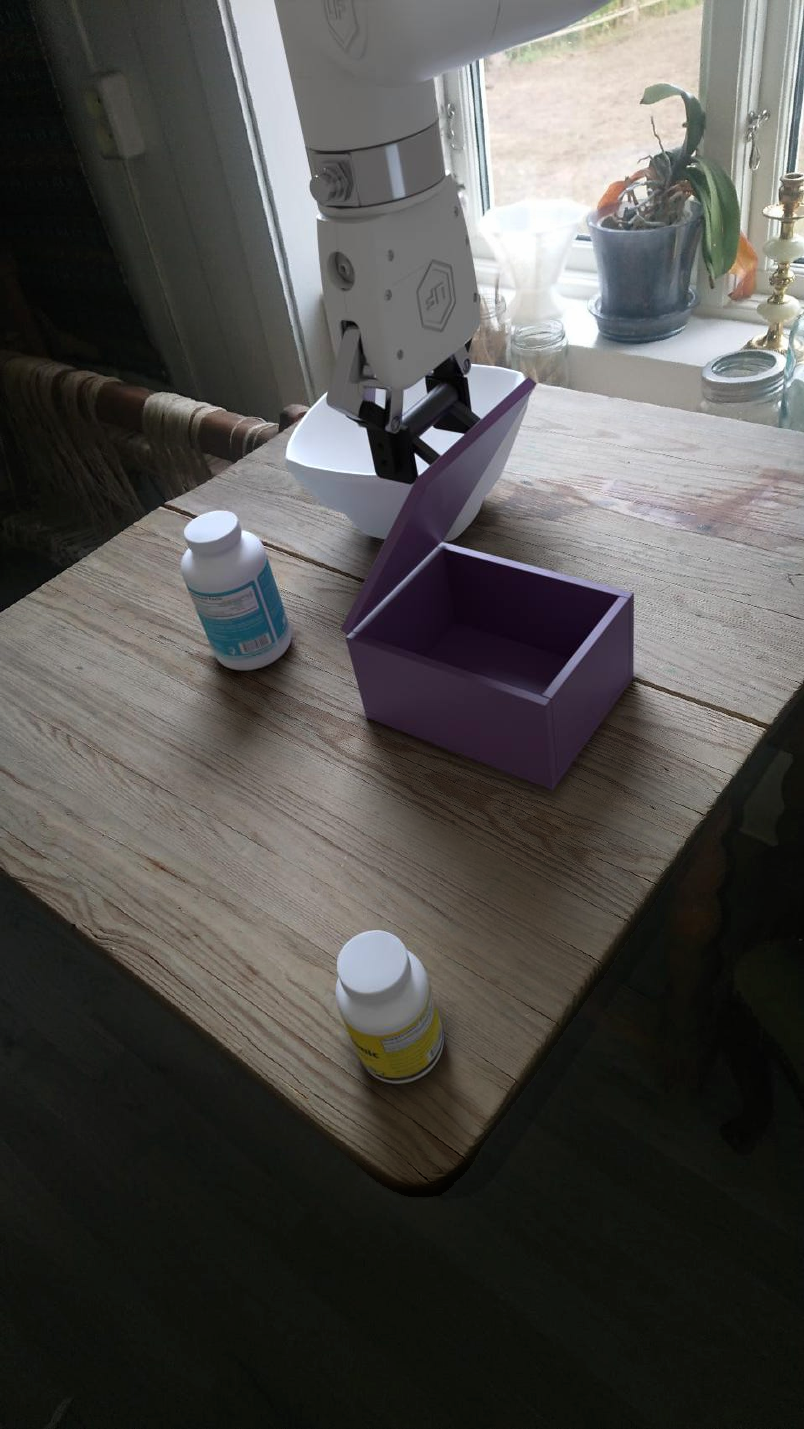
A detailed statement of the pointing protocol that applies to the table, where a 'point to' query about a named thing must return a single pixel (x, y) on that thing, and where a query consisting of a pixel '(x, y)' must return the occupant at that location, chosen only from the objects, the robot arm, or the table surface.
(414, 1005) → the supplement bottle
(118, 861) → the table surface
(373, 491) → the bowl
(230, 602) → the pill bottle
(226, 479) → the table surface
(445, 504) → the lid
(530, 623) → the purple box
